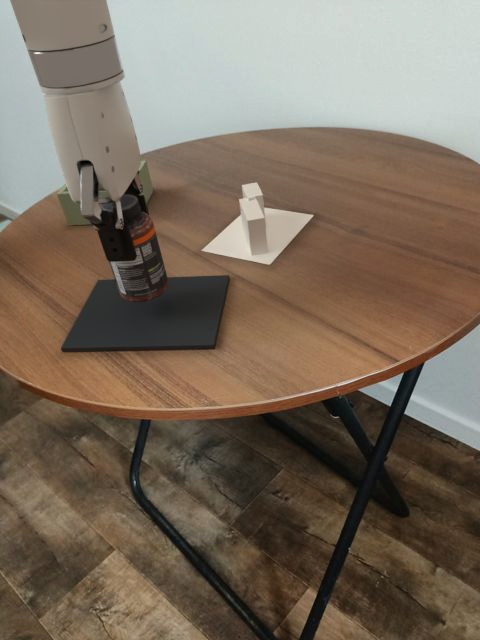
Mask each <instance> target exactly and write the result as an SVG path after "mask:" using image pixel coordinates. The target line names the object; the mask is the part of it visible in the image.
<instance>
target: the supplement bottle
mask: <svg viewBox="0 0 480 640" xmlns="http://www.w3.org/2000/svg"><path fill="white" fill-rule="evenodd" d="M120 201H121V208H122V215H123V222H124V224H128V226H129V230H130V233H131V237H132V240H133V244H134V247H135V250H136V254H137V257H136V259H135V260H134V261H119V262H109V261H108V264H109V268H110V270H111V273H112V275H113V278H114V279H115V281H116V285H117V287H118V290H119V292H120V295H121V296H122V297H123V298H124V299H126V300H128V301H130V302H146V301H150V300H153V299H155V298H157V297H159V296H160V295H161V294H163V293H164V292H165V291H166V289H167V287H168V278H167V277H168V273H167V270H166V267H165V263H164V260H163V259H164V258H163V255H162V251H161V247H160V244H159V240H158V236H157V232H156V228H155V224H154V221H153V218H152V217H151V216H150V214H149V215H148V214H147V213H144V212H142V211H141V207H140V205H139V202H138V199H137V197H135V196H134V195H130V194H123V195H122V196H121V198H120ZM100 207H101V208H102V210H103V211H106V210H107V211H108V212H110V213H111V214H112V215H113V211H112V205H111V203H107V204H101V206H100Z"/></svg>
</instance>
